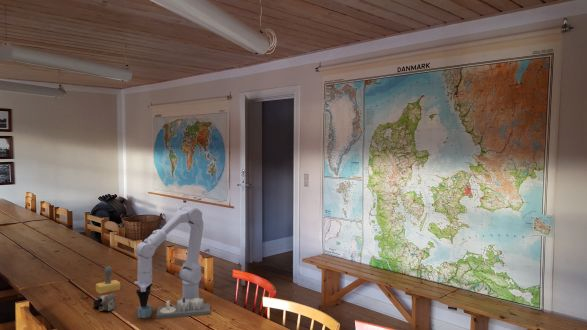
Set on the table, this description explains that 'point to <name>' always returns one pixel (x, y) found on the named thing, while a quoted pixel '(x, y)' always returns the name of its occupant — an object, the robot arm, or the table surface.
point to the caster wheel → (105, 302)
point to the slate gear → (144, 311)
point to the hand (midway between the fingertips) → (144, 303)
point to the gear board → (184, 308)
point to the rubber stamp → (107, 283)
